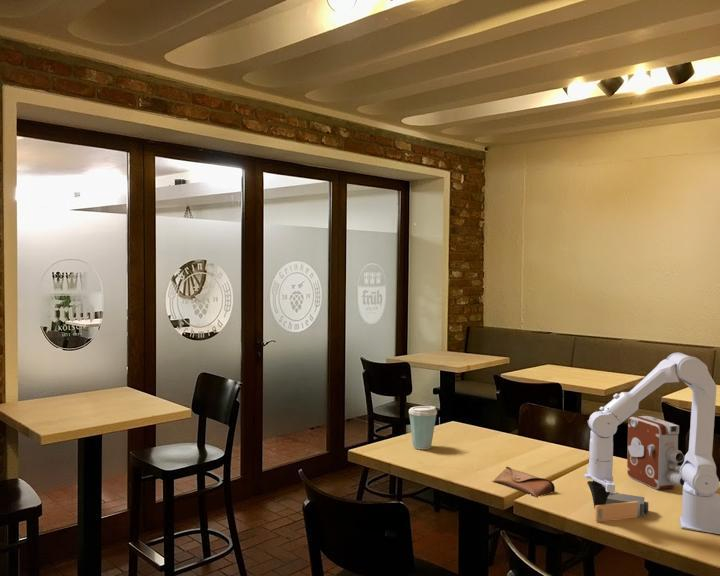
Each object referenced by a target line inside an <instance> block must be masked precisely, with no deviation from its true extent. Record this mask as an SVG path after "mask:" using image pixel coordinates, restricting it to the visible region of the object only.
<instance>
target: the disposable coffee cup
mask: <svg viewBox="0 0 720 576" xmlns="http://www.w3.org/2000/svg"><path fill="white" fill-rule="evenodd" d="M408 415H409V421H410V431H411V440H412V446H413V448H414V449H417V450H429V449H431V448H432V443H433V436H434V432H435V425H436V421H437V415H438V411H437V409H436V406H434V405H433V406H432V405H418V406H413V407H410V408H409V409H408Z"/></svg>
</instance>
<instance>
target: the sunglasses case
mask: <svg viewBox="0 0 720 576" xmlns="http://www.w3.org/2000/svg"><path fill="white" fill-rule="evenodd" d="M491 482H492V483H494V484H499V485H501V486H505V487H507V488H511V489H513V490H516V491H519V492H522V493H525V494H527V495H530V494H531V495H530V496H533V497H535V498H539V497H538V496H540V497H542V496H541V495H543V496H546V495H548V493H549V494H552V493H553V492H554V493H555V491H556V490H555V489H556V488H555V484H554V483H553V482H552V480H549V479H546V478H543V477H539V476H535V475H533V474H531V473H528V472H527V473H526V472H523V471H520V470H516V469H513V468H512V467H509V466H506V467H505V469H504V470H503V471H501V473H499V474H498V475H497V476H496V477H495V479H493V480H491ZM551 492H552V493H551ZM545 494H546V495H545Z"/></svg>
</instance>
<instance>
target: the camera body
mask: <svg viewBox="0 0 720 576" xmlns="http://www.w3.org/2000/svg"><path fill="white" fill-rule="evenodd" d="M633 501H640V517H639V518H645V514H649V502H648V501H645V496H639V495H632V494H625V493H620V492H619V493H618V492H610V494H609V496H608V498H607V501H606V504H613V503H623V502H633Z"/></svg>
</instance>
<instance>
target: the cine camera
mask: <svg viewBox="0 0 720 576" xmlns="http://www.w3.org/2000/svg"><path fill="white" fill-rule="evenodd" d="M627 423H628V424H627V455H626V456H627V458H626V460H627V461H626V462H627V463H626V464H627V465H626V468H627V469H626V470H627V471H626V472H627V475H628V477H629V478H631V479H632V480H635V481H637V482H638V483H641V484H643V485H645V486H647V485H648V487H650V488H651V489H654V490H666V489H674V488H676V486H678V487H679V486H680V487H683V485H684V480H683V479H682V478H681V476H680V468H681V466H682V465H679V463H681V462H683V461H684V459H685V455H684V454H683V452H682V451H681V450H679V434H680V425H678V424H675V423H674V422H669V421H667V420H663V419H659V418H658V417H653V416H649V415H641V416H640V415H638V416H636V415H635V416H629V417H628V422H627Z"/></svg>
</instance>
